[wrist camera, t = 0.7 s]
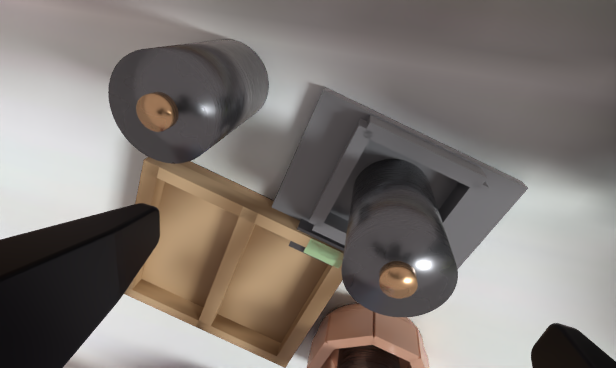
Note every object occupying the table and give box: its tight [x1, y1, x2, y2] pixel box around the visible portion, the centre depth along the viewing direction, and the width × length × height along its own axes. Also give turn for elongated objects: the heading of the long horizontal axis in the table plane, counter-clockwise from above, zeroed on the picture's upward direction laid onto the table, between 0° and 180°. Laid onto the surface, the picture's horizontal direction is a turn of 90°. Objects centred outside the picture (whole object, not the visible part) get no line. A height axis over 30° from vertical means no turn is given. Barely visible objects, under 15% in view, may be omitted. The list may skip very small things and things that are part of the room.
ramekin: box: [307, 303, 430, 368], centre depth 25 cm, size 8×8×3 cm
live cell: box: [341, 159, 458, 317], centre depth 16 cm, size 4×4×8 cm
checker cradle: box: [272, 87, 528, 269], centre depth 20 cm, size 12×10×2 cm
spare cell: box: [108, 40, 269, 164], centre depth 16 cm, size 4×4×8 cm
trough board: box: [124, 157, 344, 368], centre depth 24 cm, size 14×12×2 cm
